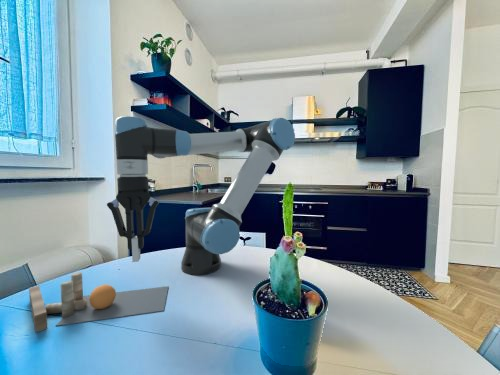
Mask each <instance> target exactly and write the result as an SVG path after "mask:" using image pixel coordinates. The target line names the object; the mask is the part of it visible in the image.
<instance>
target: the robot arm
mask: <svg viewBox="0 0 500 375" xmlns="http://www.w3.org/2000/svg"><path fill="white" fill-rule="evenodd" d="M114 127H115V128H114V129H115V130H114V131H115V132H114V133H115V134H114V140H115V154H116V155H115V156H116V175H118V177H117V178H116V181H117V194H116V196H115V198H114V199H113V200H112V201H110V202H107V203H106V206H107V207H108V209H109V211H111V214H112V217H113V220H114V223H115V225H116V229H117V232H118V235H119V237H121V238H123V237H124V238H126V239H127V250H131V255H132V257H131V258H132V263H135V262H139V261H140V260H141V250H143V248H144V246H145V241H144V240H145V236H148V235H149V234H150V233H151V231H152V227H153V226H152V225H153V223H154V222H153V221H154V218H155V214H156V208H157V206H158V205H159V203H160V200H159V199H155V198H153V197H152V195H151V192H150V190H149V186H150V185H149V177H148V176H147V175H148V174H149V161H148V155H150V156H152V157H153V158H157V159H165V158H172V157H174V158H175V157H184V156H185V157H186V156H190V155H191V156H192V155H201V154H211V153H223V152H230V151H231V152H233V151H237V152H239V153H245V152H246V153H249V155H248V156H247V158H246V160H245V161H244V163H243V164H242V166H241V167H240V168H239V170H238V172H237V174H236V175H235V177H234V179H233V180H232V182H231V184H230V185H229V187H228V188H227V190H226V191H225V193H224V195H223V197H222V198H221V200H220V202H218V203H215V204H212V206H211V207H200V208H199V207H195V208H189V209H186V212H185V217H184V219H185V249H184V253H183V256H182V259H181V262H180V263H181V264H180V269H181V271H182V272H184V273H185V274H189V275H197V276H199V275H207V274H212V273H214V272H216V271H218V270H219V269H220V268H221V266H222V259H221V257H220V256H221V255H224V254H226V253H229V252H231V251H232V250H233V249H234V248H235V247H236V246H237V244H238V243H239V241H240V235H241V234H240V227H241V225H242V224H243V221H242V214H243V213H244V211H245V209H246V207H247V205H248V204H249V202H250V200H251V199H252V197H253V195H254V194H255V192H256V190H257V188H258V187H259V186H260V183H261V182H262V180H263V178H264V176H265V174H266V173H267V171H268V169H269V168H270V166H271V164H272V162H274V161H278V160H279V159H280V156H281V155H282V153H283V151H287V150H289V149H291V148H292V147H293V145H294V144H295V141H296V140H295V139H296V133H295V129H294V126H293V125H292V123H291V122H290V121H289V120H288V119H286V118H284V117H278V118H273V119H271V120H268V121H264V122H261V123H258V124H255V125H253V126H249V127H245V128H238V129H236V130H235V131H218V132H200V133H189V132H188V131H186V130H179V129H168V128H156V127H151V126H148V125H147V120H145V119H144V118H141V117H137V116H129V115H126V116H125V115H124V116H119V117H117V118H116V119H115V123H114ZM147 203H149V204H148V206H150V208H149V210H148V215H147V219H146V224H144V208H145V206H146V205H147ZM120 205H121V206H122V207H123V209H124V210H125V211H124V214H125V223H124V220H123V217H122V213H121V210H120V207H119V206H120ZM134 210H135V214H136V235H135V232H134V230H135V229H134ZM125 224H126V226H125ZM144 225H145V229H144Z"/></svg>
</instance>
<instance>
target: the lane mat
mask: <svg viewBox="0 0 500 375" xmlns="http://www.w3.org/2000/svg"><path fill="white" fill-rule="evenodd" d="M168 290H169V286H159V287H151V288H150V287H149V288H141V289H133V290H124V291H123V290H122V291H116V297H115V300H114V301H113V303H112V304H111V305H110V306H108V307H107V308H104V309H95V308H93V307H92V306H91V305H90V302H89V298H90V295H91V294H90V295H83V300H84V299H87V306H86V307H85V309H82V310H74V314H73V315H72V316H70V317H66V318H62V317H61V319H60V320H59V321H58V322H57V323H56V324H55V326H56V327H60V326H67V325H75V324H82V323H89V322H96V321H103V320H111V319H115V318H116V319H117V318H122V317H123V318H125V317H130V316H137V315H138V316H139V315H145V314H153V313H159V312H164V310H165V307H166V302H167V301H166V300H167V295H168V292H167V291H168Z"/></svg>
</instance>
